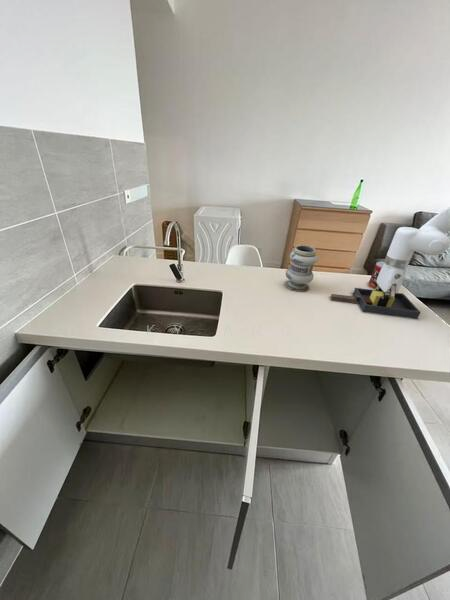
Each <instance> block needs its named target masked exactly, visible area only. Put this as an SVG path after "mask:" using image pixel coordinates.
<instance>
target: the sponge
mask: <svg viewBox="0 0 450 600" xmlns="http://www.w3.org/2000/svg"><path fill="white" fill-rule="evenodd" d="M382 293H383V292H380V291H372V293H371V296H370V299H371V301H372V302H373V304H372V305H375V306H377V304H378V301H379V299H380V298H381V297H382ZM388 294H389V293H386V294H385V295H388ZM394 300H395V297H394V298H390V300H389V301H388V303H387V305H386V307H390V308H391V306H392V304H393V302H394Z"/></svg>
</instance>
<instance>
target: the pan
mask: <svg viewBox="0 0 450 600" xmlns="http://www.w3.org/2000/svg"><path fill="white" fill-rule="evenodd" d="M372 291H376V289H370V288H361V287H354V290H353V293H352V296H354V297H355V295H359V296H360V297H361V298H360V301H359V303H358V302H357V304H358V305H359V308H360V309H361V311H362V312H363V313H370V314H378V315H383V316H385V315H386V316H392V317H401V318H408V319H415V320H416V319H419V317H420V315H421V313H422V311H421V310H419V308H417V306H416V305H415V303H413V302H412V301H411V299H409V298H408V296H407V295H405V293H403V292H398V293H397V294H395V296H394V297H395V300H394V302H393V304H392V306H391V308H390V307H382V306H375V305H367V303H366V302H365V300H364V299H363V297H366V298H370V296H371V293H372Z"/></svg>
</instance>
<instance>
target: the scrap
mask: <svg viewBox="0 0 450 600" xmlns="http://www.w3.org/2000/svg"><path fill="white" fill-rule="evenodd" d="M363 299H364V300H365V302H366V303H367V305H372V304H373V302H372V301H371V299H370V298H366V297H363Z"/></svg>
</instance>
